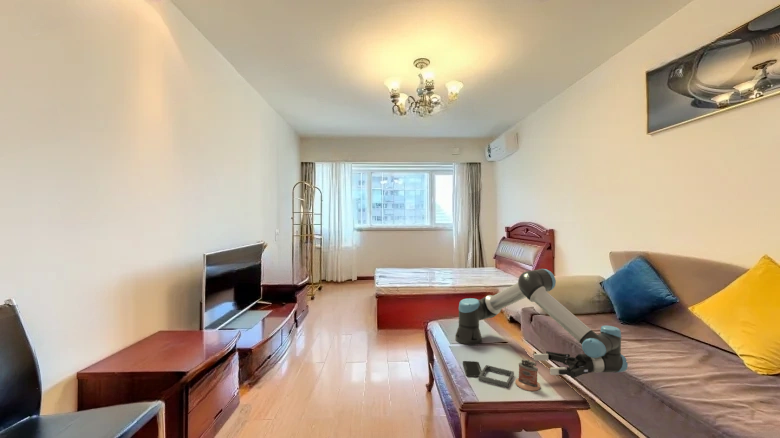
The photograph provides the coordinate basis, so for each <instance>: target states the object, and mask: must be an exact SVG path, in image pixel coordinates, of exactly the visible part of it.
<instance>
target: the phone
mask: <svg viewBox="0 0 780 438" xmlns="http://www.w3.org/2000/svg"><path fill="white" fill-rule="evenodd" d="M480 365H481V364H480V363H479V362H478V361H475V360H474V361H473V360H472V361H471V360H463V361H462V366H463V370H464V374H465V376H466V377H467V378H474V377H475V378H478V379H479V374H480V373H481V372H482V370H483V369H482V367H481V366H480Z"/></svg>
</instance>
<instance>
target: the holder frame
mask: <svg viewBox="0 0 780 438" xmlns="http://www.w3.org/2000/svg"><path fill="white" fill-rule="evenodd" d="M481 370H482V372H481V373H480V374H479V378H478V381H479V382H484V383H487V384H490V385H491V384H492V385H495V386H500V387H503V388H506V389H509V387H510V385H511V384H512V381H513V379H514V376H515V371H513V370H508V369H504V368H501V367H496V366H492V365H487V364H486V365H484V368H483V369H481ZM487 371H489V372H494V373H498V374H501V375H505V376H508V377H507V378H508V379H507V380H506V381H503V380H501V379H496V378H493V377H489V376H485V374H487Z"/></svg>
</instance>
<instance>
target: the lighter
mask: <svg viewBox="0 0 780 438" xmlns="http://www.w3.org/2000/svg"><path fill="white" fill-rule="evenodd" d="M536 366H537V363H536V361H533V360H532V361H531V360H530V359H528V358H527V359H524V358H521V362H519V363H518V381H519V382H521V383H524V384H526V385H529V386H532V387H537V386H538V384H537V382H538V370H539V369H538V367H536Z"/></svg>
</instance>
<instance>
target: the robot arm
mask: <svg viewBox="0 0 780 438" xmlns="http://www.w3.org/2000/svg"><path fill="white" fill-rule="evenodd" d="M556 281H557V280H556V276H555V275H554V273H553V272H552V271H550V270H548V269H546V268H539V269H533V270H527V271H524V272H522V273H521V274H520V275H519V276H518V280H517V283H514V284H513V285H511V286H508V287H507V288H505V289H503V290H502V291H500V292H498V293H496V294H494V295H493V294H492V295H491V294H488V295H486V296H484V297H483V298H481V299H477V298H471V297H469V298H463V299H461V300H460V301H459V302H458V303H459V304H458V326H457V327H458V328H457V330H456V333H455V335H454V336H455V341H456V342H458V343H460V344H463V345H468V346H472V345H473V346H475V345H479V344H481V343H482V342H483V336H482V334H481V330H480V321H483V320H486V319H492V318H494V317H496V316H497V315H498V314H500V313H501V310H502V309H505V308H506V307H509V306H511V305H513V304H515V303H517V302H519V301H521V300H523V299H527V300H529V302H532V303H535V304H536V305H538V307H540V309H542V310H543V311H544V312H545V313H546V314H547V315H548V316H550V318H551V319H553V320H554V321H555V322H556V323H557V324H558V325H560V326H561V328H563V330H565V331H566V332H568V334H569V335H571V337H573V338H574V339H575V340H576V341H577V342H578V343H580V344H581V349H582V352H584V353H578V354H577V355H576V356H575V357H574V356H571V354H569V353H559V352H553V351H546V352H545V353H533V362H536V361H547V362H548V361H549V360H550V361H554V362H557V363H562V364H563V365H564V366H565V365H566V366H568V367H564V366H563V367H549V375H551V376H558V375H559V376H560V375H561V376H563V375H565V376H568V377H569V376H570V377H571V378H572V379H574V378H577V377H579V376H583V375H586V374H589V373H594V374H597V373H622V372H626V371H627V369H628V367H629V365H628V362H627V361H628V360H627V358H626V356H624V355H623V354H622V353H621V352H622V351H621V350H622V332H621V329H620V328H619V327H616V326H613V325H601V327H600V333H599V334H597V333H596V332H595V331H594V330H592V329H591V328H590V327H589V326H587V325H586V324H585V323H584V322H583V321H582V320H581V319H579V317H577V316H576V315H575V314H573V313H572V312H571V311H570V310H569V309H567V307H566V306H564V305H563V304H562V303H561V302H560V301H559V300H557V299H556V298H555V297H554V296H552V295H551V294H550V293H549V292H550V291H552V290H554V289H555V287H556Z"/></svg>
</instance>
